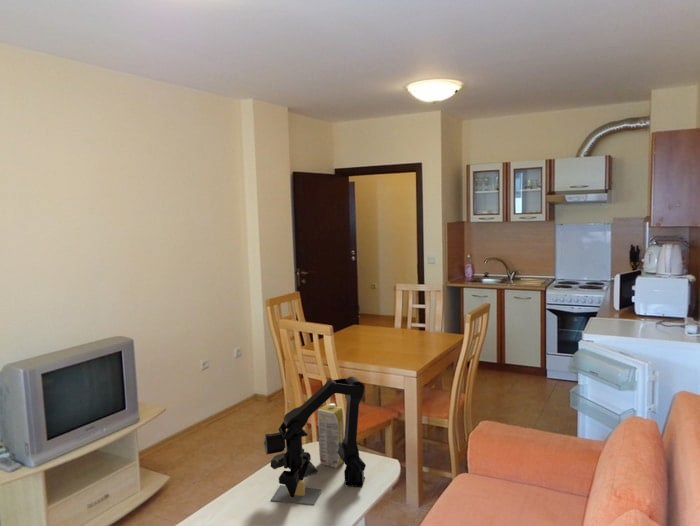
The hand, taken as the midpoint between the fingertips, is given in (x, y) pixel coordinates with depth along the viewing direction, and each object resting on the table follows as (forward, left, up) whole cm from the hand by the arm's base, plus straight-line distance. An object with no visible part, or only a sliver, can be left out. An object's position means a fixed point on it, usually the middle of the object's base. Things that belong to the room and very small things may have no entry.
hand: (296, 490), depth 190 cm
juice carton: (-7, -25, -2) cm, 26 cm away
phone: (+4, -20, -3) cm, 21 cm away
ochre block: (0, 0, -2) cm, 2 cm away
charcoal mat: (0, 0, -2) cm, 2 cm away
